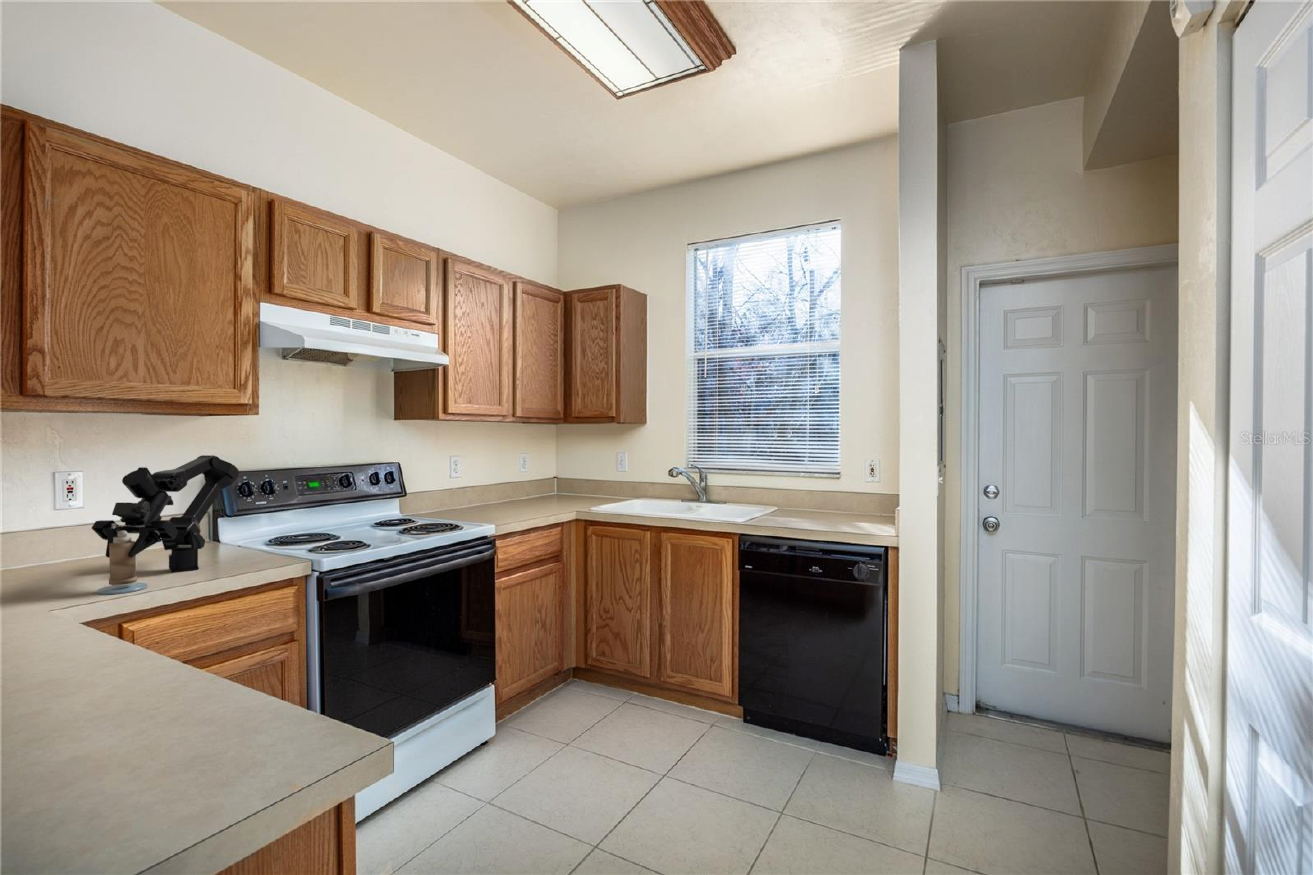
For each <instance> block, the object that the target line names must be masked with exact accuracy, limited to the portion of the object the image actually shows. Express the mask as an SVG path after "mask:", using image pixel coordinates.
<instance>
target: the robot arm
mask: <svg viewBox="0 0 1313 875" xmlns="http://www.w3.org/2000/svg"><path fill="white" fill-rule="evenodd" d="M239 474H240V471H239V469H238V467H237V466H236V465H234V464H232V463H231V462H229V461H225V459H222V458H220V457H219V456H217V455H213V454H212V455H211V454H210V455H206V454H205V455H203V454H202V455H199V456H198V457H197V458H194V459H193V460H190V461H189V462H186V463H185V464H181V465H180V466H178V467H175V468H173V469H167V470H166V469H165V470H160V471H156V472H153V473H151V472H150V469H149V468H148V467H146V466H145V467H144V466H142V467H138V468H137V469H136V470H133V471H131V472H129V473H127V474H125V475H124V476H123V478H122V480H121V481H122V484H123V485H124V486H125V488H127V490H128V491H129V492H130V493H131V495H133V497H135V498H136V499H140V500H139V501H138V502H115V505H114V508H113V510H112V516H117V517H119V518H120V520H119V521H120V522H122V523H124V524H118V523H117V522H115V521H114V520H113V519H109V520H104V519H102V520H101V519H100V520H95V522H94V523H93V524H92V526H91V529H92V531H94V532H95V534H96V535H98V536H99V538H101V539H102V540H105V541H107V542H106V543H107V545H106V549H105V557H106V558H107V559H108V558H109V544H110V543H113V538H114V537H118V535H117V534H118V532H119V531H121V530H125V531H127V534H135V535H137V534H138V537H137V538H136V540H135V543H134V545H133V547H132V548H131V550H130V552H129V554H128V556H129V557H133V556H135V555H136V554H140V553H141V552H143V551H144V550H146V549H147V548H150V547H152V546H154V545H155V544H157V543H162V546H163V549H164V551H171V552H170V553H169V554H168V569H169V570H170V572H171V573H174V572H183V571H194V570H199V568H200V567H199V550H200V549H203V548H204V547H205V543H206V539H205V538H204V537H203V536H202V534H201V527H200V524H201V521H202V520H203V519H204V518H205V515H206V514H207V513H208V511H209V510H210V508H211V506H212V505H213V504H214V502H215V501H216V499H217V498H218V496H219V495H220V494H221V492H222V491H224V489H226V488H229V487H230V486H232V485H233V484H234V483H235V481H237V479H238V477H239ZM200 475H203V477H204V484H202V487H201V489H200V490H199V491H198V493H197V494H196V496H195V497H194V498H193V500H192V501H191V503H189V505H188V506H187V508H186V510H185V511H184V513H183V514H182V515H181V516H172V517H171V518H169V519H163V517H162V515H161V514H162V512H163V511H164V509H165V507H166V506H174V500H173V498H172V495H169V494H168V493H178V492H180V491H182V490H183V489H184V488H185V487H186V486H188V482H189V481H190V480H192V479H194V478H196V477H197V476H200ZM109 559H110V558H109Z"/></svg>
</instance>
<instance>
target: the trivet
mask: <svg viewBox="0 0 1313 875" xmlns="http://www.w3.org/2000/svg"><path fill="white" fill-rule="evenodd" d="M146 588H148V583H146V582H133V583H129V584H123V585H108V586H107V585H106V586H103V587H100V588H99V589H96V590H97V591H96V593H97V595H101V596H102V595H103V596H104V595H105V596H107V595H108V596H109V595H111V596H112V595H121V594H122V595H123V594H129V593H130V594H131V593H134V592H139V591H142V590H145V589H146Z"/></svg>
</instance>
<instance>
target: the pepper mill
mask: <svg viewBox="0 0 1313 875" xmlns="http://www.w3.org/2000/svg"><path fill="white" fill-rule="evenodd" d="M117 535H118V537H114V538H113V543H110V544H109V557H110V558H109V579H108V586H111V585H123V584H129V583H137V581H138V576H137V572H136V570H137V565H136V555H135V556H133V557H129V556H128V554H129V552H130V550H131V548H132V547H133V545H134V543H135V542H136V540H132V535H128V533H127V531H125V530H121V531H119V532H118V534H117Z"/></svg>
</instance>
